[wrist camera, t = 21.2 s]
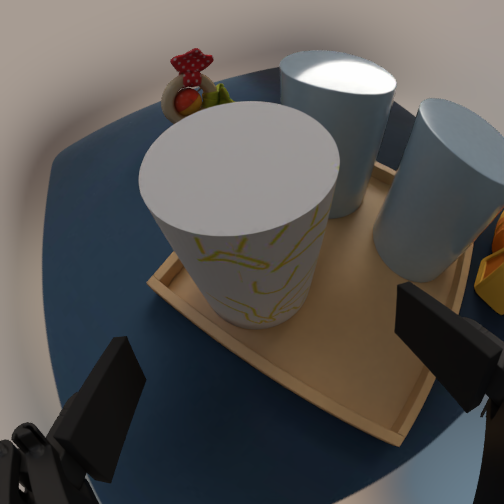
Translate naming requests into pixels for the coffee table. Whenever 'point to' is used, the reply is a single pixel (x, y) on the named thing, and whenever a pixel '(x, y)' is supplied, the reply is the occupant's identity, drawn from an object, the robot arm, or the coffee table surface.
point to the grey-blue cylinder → (440, 191)
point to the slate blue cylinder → (342, 113)
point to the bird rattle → (187, 98)
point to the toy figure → (493, 272)
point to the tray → (336, 327)
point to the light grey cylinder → (244, 205)
